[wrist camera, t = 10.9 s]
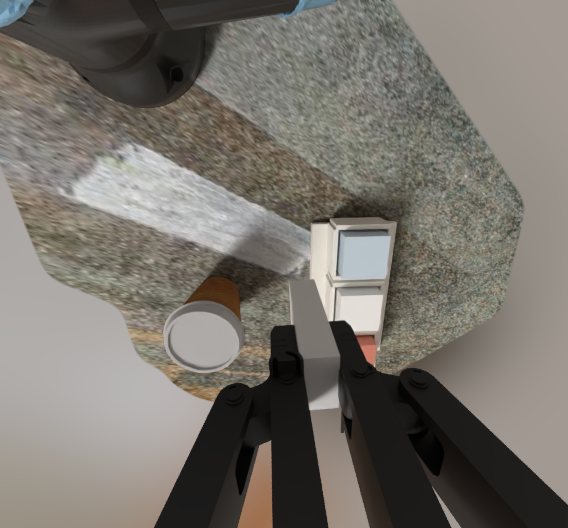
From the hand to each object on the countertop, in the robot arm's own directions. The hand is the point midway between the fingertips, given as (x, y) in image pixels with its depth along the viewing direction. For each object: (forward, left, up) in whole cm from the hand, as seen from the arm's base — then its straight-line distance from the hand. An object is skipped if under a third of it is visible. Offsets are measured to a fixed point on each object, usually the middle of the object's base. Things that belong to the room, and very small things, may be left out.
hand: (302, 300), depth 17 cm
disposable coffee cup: (+12, -10, -25) cm, 29 cm away
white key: (+12, +10, -22) cm, 27 cm away
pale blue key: (+4, +10, -22) cm, 24 cm away
